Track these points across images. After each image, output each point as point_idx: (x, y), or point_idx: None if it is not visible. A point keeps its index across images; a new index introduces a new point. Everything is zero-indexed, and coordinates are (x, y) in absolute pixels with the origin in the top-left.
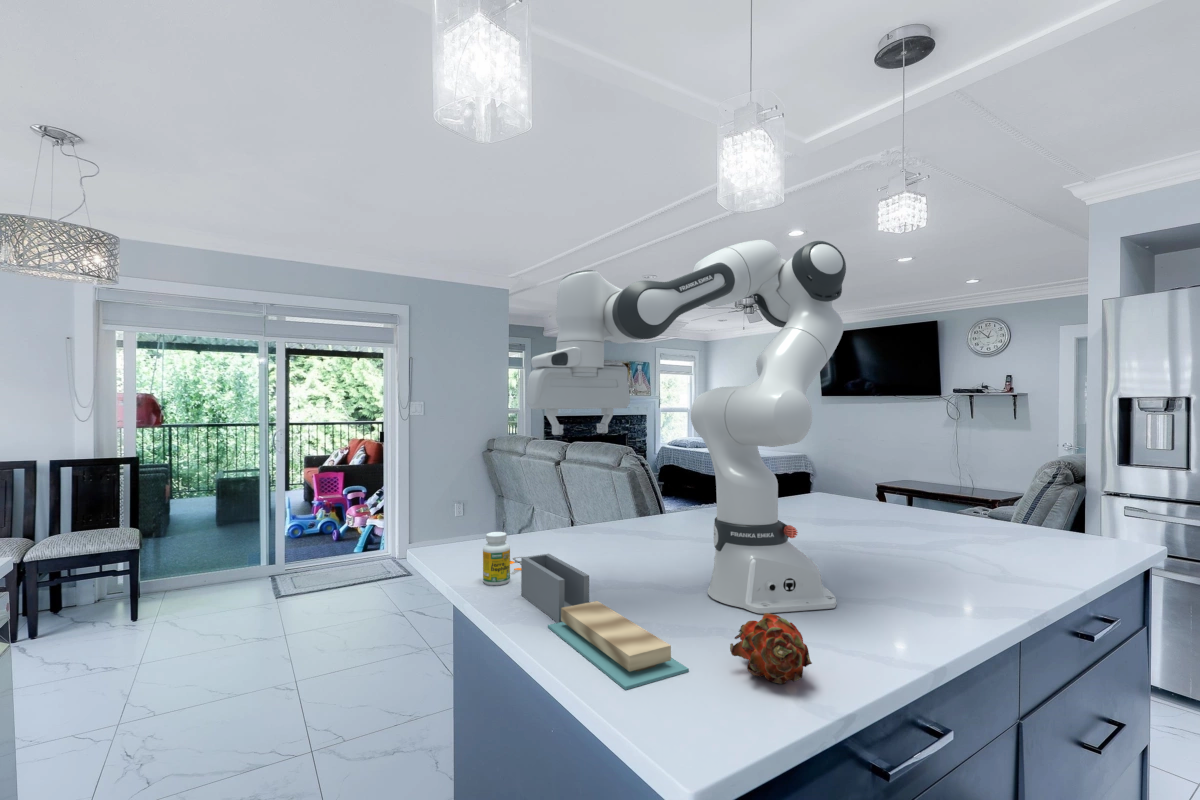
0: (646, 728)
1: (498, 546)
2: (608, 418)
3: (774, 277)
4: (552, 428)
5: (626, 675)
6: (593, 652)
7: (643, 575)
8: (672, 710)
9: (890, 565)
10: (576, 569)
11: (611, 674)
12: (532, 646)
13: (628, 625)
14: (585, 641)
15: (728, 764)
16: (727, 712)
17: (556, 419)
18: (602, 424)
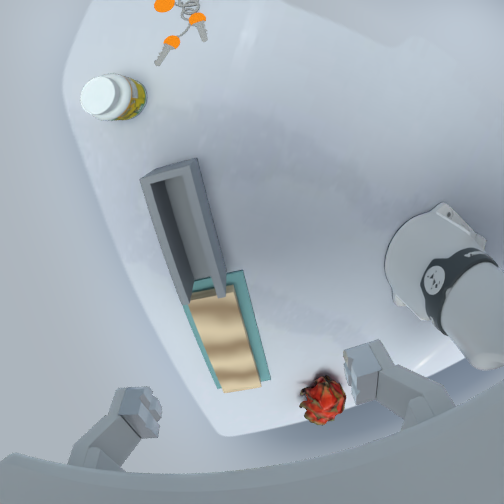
0: (217, 412)
1: (106, 114)
2: (399, 414)
3: None
4: (114, 406)
5: None
6: None
7: (359, 134)
8: (237, 405)
9: None
10: (215, 267)
11: (212, 376)
12: (157, 318)
13: (243, 354)
14: None
15: (243, 432)
16: (266, 410)
17: (125, 458)
18: (361, 401)
